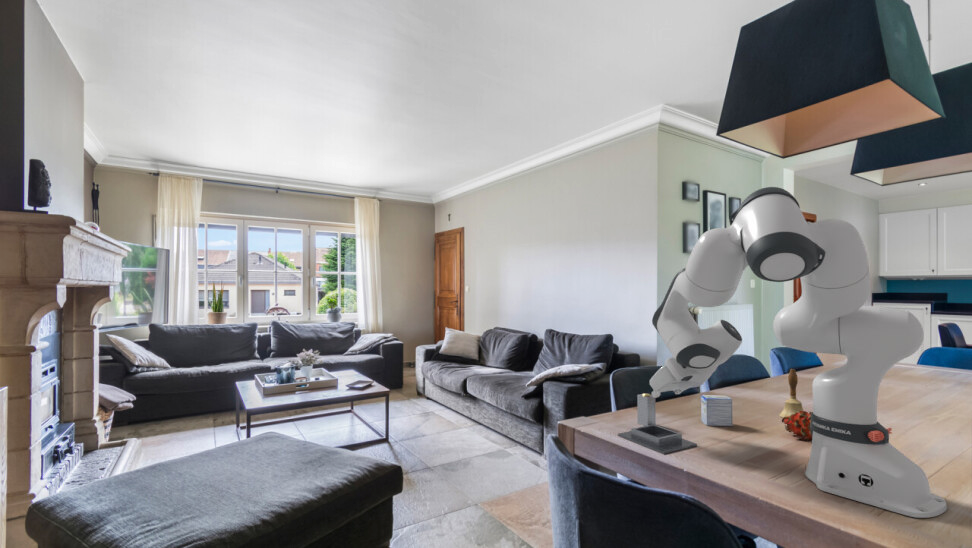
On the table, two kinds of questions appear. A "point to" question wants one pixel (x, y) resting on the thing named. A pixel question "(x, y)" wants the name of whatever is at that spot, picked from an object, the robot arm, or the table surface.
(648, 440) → the rectangular socket base
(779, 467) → the table surface
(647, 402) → the nut block
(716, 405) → the medicine box
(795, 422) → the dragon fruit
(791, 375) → the hand bell
